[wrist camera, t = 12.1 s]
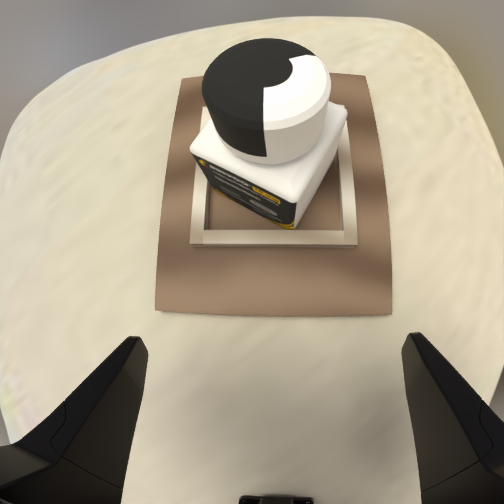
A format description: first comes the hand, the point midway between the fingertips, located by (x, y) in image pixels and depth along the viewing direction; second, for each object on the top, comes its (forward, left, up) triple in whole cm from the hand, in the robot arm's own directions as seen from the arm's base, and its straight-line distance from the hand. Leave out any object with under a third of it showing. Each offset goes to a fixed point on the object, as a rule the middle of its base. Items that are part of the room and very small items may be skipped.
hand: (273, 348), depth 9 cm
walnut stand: (+12, 0, -14) cm, 18 cm away
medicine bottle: (+11, 0, -13) cm, 17 cm away
